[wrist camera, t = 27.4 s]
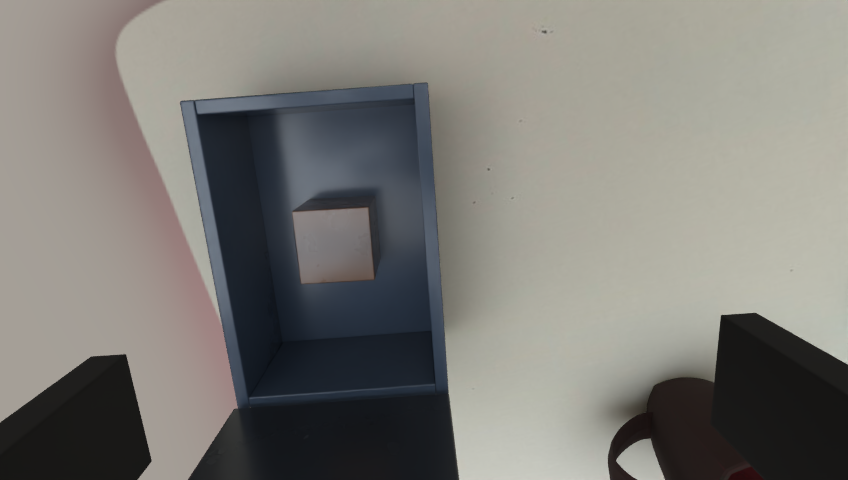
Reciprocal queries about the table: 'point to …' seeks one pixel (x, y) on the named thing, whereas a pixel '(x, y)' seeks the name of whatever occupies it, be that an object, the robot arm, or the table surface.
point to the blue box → (276, 249)
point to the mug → (681, 436)
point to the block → (337, 239)
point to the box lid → (336, 441)
